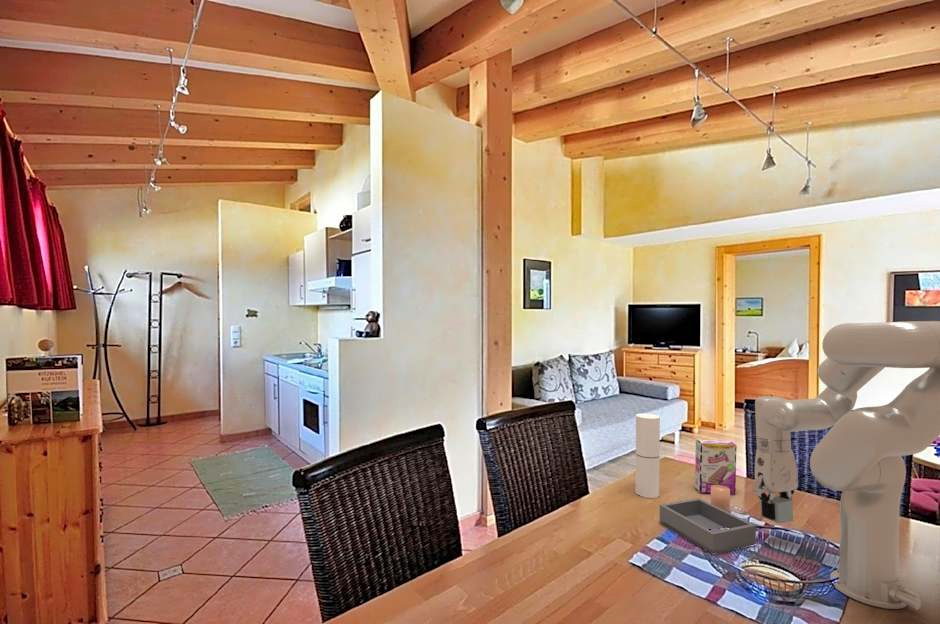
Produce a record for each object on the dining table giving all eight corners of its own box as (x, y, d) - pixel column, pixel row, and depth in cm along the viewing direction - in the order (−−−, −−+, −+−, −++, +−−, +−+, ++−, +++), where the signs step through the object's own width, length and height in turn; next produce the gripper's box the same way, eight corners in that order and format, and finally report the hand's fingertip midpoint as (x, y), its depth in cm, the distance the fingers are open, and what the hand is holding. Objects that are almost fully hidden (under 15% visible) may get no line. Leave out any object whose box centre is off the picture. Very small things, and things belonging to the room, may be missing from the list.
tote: (755, 545, 118) (755, 525, 118) (712, 554, 114) (713, 534, 114) (698, 515, 135) (699, 498, 135) (659, 522, 131) (659, 504, 131)
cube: (793, 520, 120) (792, 500, 120) (779, 523, 118) (778, 503, 118) (774, 514, 124) (773, 494, 125) (760, 516, 123) (760, 497, 123)
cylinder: (733, 514, 137) (734, 490, 136) (720, 516, 135) (720, 492, 135) (719, 507, 141) (719, 483, 141) (706, 509, 140) (706, 485, 140)
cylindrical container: (635, 496, 149) (636, 417, 149) (634, 488, 156) (635, 412, 156) (660, 499, 147) (660, 419, 147) (658, 490, 154) (658, 414, 153)
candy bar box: (700, 494, 151) (700, 443, 151) (694, 488, 156) (694, 438, 156) (736, 495, 150) (737, 444, 150) (729, 489, 155) (730, 439, 155)
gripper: (762, 450, 116) (766, 526, 115) (811, 445, 122) (814, 517, 121) (736, 444, 123) (739, 515, 122) (783, 439, 129) (786, 507, 128)
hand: (776, 515), depth 121 cm, fingers closed on cube, 5 cm apart
